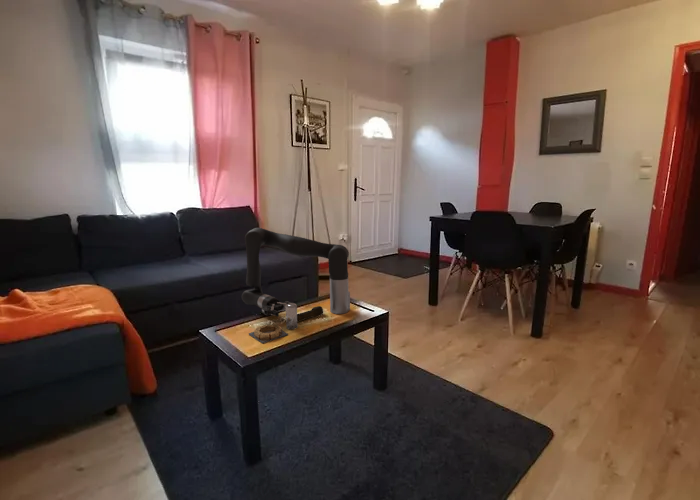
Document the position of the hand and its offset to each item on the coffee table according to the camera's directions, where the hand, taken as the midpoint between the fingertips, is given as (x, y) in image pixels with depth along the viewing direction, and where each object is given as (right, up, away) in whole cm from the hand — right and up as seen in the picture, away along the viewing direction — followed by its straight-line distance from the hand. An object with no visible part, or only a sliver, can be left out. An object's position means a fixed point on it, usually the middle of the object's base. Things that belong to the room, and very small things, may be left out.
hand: (286, 312), depth 165 cm
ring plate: (-6, -8, -10) cm, 14 cm away
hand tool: (+8, -5, +8) cm, 13 cm away
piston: (+3, -6, -2) cm, 7 cm away
